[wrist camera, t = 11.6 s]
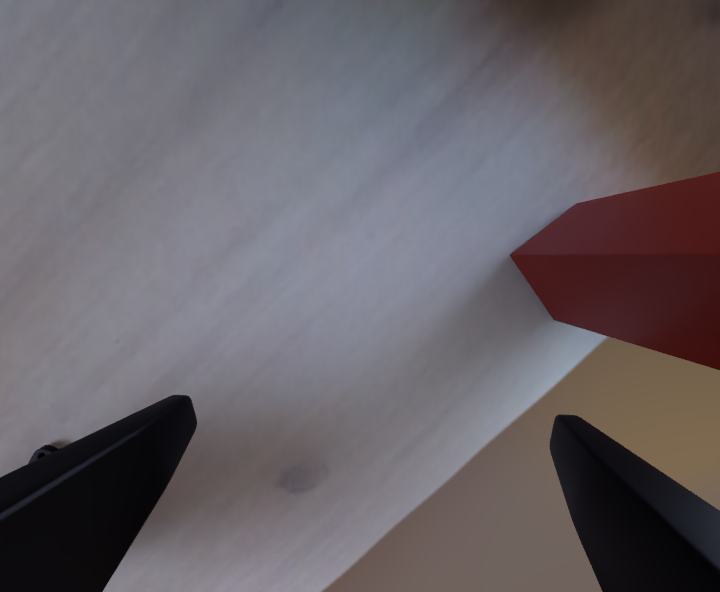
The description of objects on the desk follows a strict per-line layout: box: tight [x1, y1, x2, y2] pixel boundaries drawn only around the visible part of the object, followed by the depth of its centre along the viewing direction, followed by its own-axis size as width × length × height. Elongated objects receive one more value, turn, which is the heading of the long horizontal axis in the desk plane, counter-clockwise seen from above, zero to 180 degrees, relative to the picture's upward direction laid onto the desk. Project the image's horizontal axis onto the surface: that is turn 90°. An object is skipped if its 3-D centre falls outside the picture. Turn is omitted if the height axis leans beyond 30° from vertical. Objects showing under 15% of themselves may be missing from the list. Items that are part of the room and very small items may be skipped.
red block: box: [510, 172, 720, 370], centre depth 14 cm, size 5×5×12 cm
